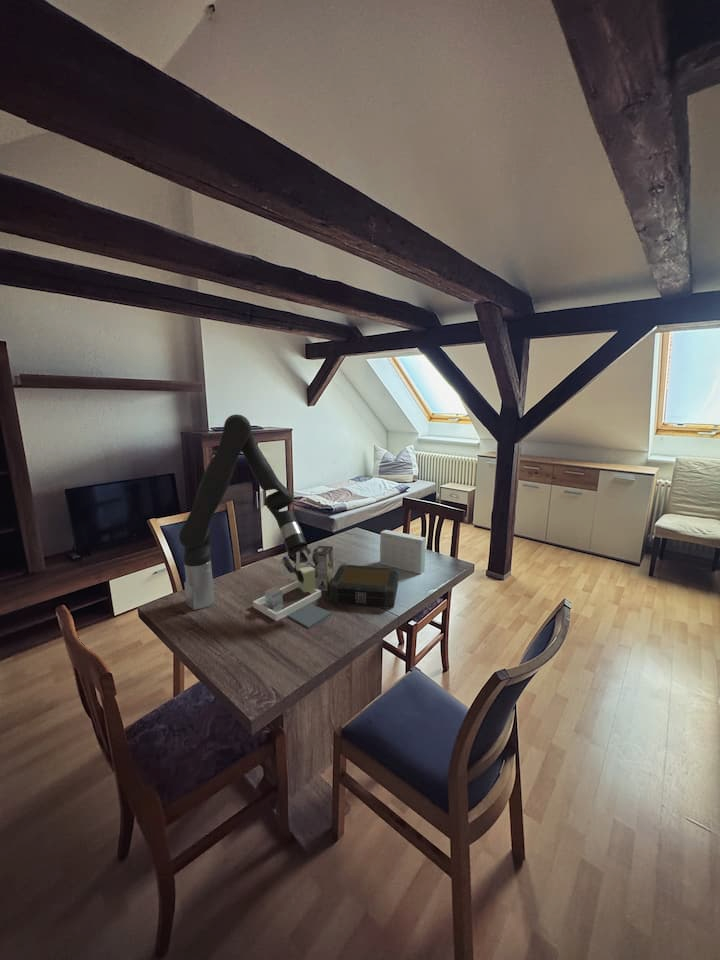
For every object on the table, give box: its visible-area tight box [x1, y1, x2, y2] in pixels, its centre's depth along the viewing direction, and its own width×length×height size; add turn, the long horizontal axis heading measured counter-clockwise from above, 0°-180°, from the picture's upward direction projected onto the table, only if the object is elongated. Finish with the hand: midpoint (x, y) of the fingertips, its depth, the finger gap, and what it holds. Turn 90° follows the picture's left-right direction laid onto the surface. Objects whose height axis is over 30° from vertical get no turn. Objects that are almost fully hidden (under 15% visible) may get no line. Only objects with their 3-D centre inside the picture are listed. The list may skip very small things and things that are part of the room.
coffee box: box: [311, 545, 334, 592], centre depth 158 cm, size 9×6×16 cm
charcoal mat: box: [287, 602, 332, 629], centre depth 137 cm, size 11×11×1 cm
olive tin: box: [298, 564, 316, 593], centre depth 135 cm, size 5×5×8 cm
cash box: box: [329, 564, 399, 609], centre depth 152 cm, size 25×20×8 cm
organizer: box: [252, 579, 322, 622], centre depth 147 cm, size 22×14×2 cm, turn 139°
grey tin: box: [264, 586, 284, 613], centre depth 141 cm, size 4×4×8 cm
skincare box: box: [379, 529, 427, 575], centre depth 175 cm, size 21×5×16 cm, turn 58°
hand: (309, 579), depth 133 cm, fingers closed on olive tin, 4 cm apart
